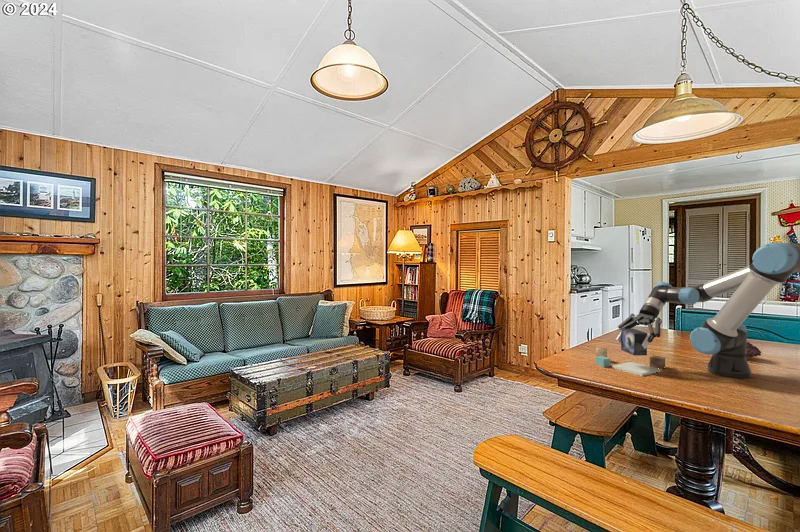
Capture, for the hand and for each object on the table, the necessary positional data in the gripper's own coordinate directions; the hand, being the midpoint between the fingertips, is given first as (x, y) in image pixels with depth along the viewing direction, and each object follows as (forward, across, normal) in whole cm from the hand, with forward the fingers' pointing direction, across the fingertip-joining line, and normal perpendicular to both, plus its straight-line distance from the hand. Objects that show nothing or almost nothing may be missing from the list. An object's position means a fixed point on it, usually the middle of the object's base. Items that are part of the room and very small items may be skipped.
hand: (630, 343), depth 179 cm
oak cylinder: (+7, +17, -11) cm, 21 cm away
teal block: (+12, +11, -6) cm, 17 cm away
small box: (+2, 0, -5) cm, 5 cm away
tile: (+7, -1, -10) cm, 13 cm away
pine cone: (-40, -13, -58) cm, 72 cm away
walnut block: (-2, -3, -20) cm, 20 cm away
